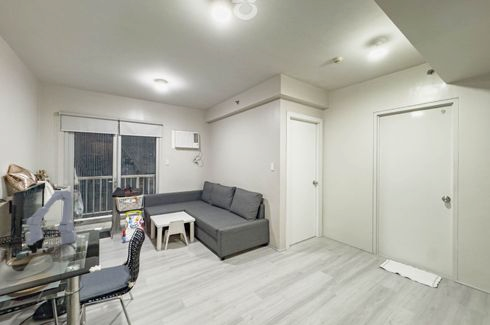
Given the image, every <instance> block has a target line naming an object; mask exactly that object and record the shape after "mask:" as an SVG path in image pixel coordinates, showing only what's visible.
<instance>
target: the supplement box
mask: <svg viewBox="0 0 490 325" xmlns="http://www.w3.org/2000/svg"><path fill="white" fill-rule="evenodd" d="M43 233H44V231H43V229H41V235H43V236H44V234H43ZM24 237H25V245H26V248H27V249H30V248H29V247H27V245H28V244H29V242H30V241H28V240H29V239H30V232H29V231H27V232H25V233H24ZM44 244H45V241H44V242H43V245H44Z"/></svg>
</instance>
